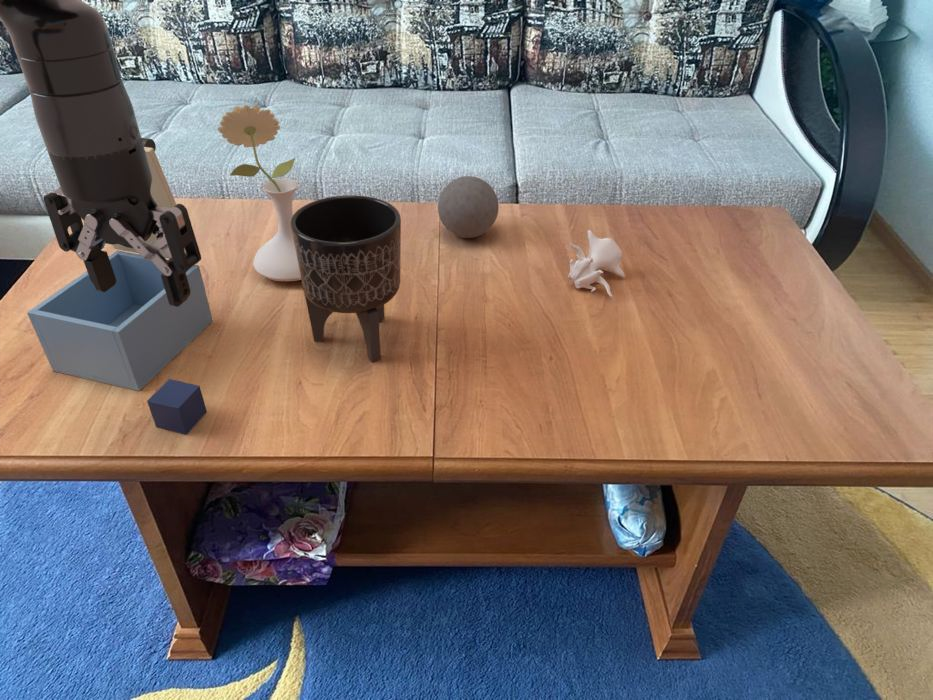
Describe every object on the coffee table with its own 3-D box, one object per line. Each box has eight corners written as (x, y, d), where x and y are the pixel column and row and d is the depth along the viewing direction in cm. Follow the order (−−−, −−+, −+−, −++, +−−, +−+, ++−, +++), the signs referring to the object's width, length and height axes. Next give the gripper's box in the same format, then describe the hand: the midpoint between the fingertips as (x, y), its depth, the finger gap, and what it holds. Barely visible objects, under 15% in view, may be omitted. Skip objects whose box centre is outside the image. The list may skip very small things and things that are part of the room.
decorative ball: (454, 253, 110) (455, 196, 104) (428, 228, 117) (427, 172, 111) (507, 241, 114) (511, 184, 108) (479, 216, 121) (481, 162, 115)
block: (186, 434, 77) (178, 408, 74) (156, 427, 77) (146, 400, 75) (207, 411, 80) (199, 385, 77) (177, 404, 81) (169, 378, 78)
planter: (301, 369, 86) (281, 244, 75) (315, 311, 96) (299, 194, 86) (404, 368, 87) (398, 243, 76) (407, 311, 97) (402, 194, 86)
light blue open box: (139, 391, 82) (118, 332, 77) (52, 370, 85) (26, 312, 80) (213, 320, 94) (199, 265, 89) (135, 305, 97) (116, 250, 92)
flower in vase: (336, 252, 110) (319, 93, 95) (322, 290, 101) (301, 121, 86) (256, 249, 110) (226, 90, 95) (234, 287, 101) (197, 118, 86)
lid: (149, 151, 76) (174, 128, 79) (55, 137, 79) (83, 116, 82) (196, 264, 88) (216, 240, 92) (114, 249, 91) (136, 226, 94)
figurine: (638, 268, 106) (630, 284, 97) (600, 295, 110) (588, 313, 101) (599, 217, 105) (587, 229, 97) (561, 246, 109) (546, 260, 100)
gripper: (-9, 142, 58) (57, 302, 68) (135, 163, 55) (182, 328, 65) (57, 114, 64) (109, 266, 74) (190, 132, 61) (226, 288, 70)
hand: (143, 295), depth 69 cm, fingers open, 8 cm apart
